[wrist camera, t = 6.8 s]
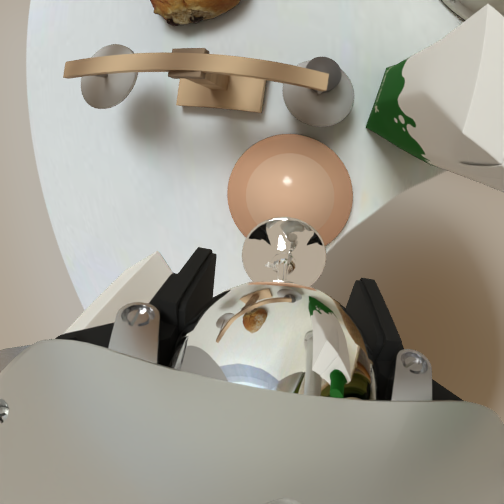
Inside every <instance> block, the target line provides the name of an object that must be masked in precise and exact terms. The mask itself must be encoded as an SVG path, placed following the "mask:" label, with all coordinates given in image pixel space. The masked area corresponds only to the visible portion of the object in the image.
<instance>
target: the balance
mask: <svg viewBox="0 0 504 504" xmlns="http://www.w3.org/2000/svg"><path fill="white" fill-rule="evenodd" d="M138 72H169V73H168V77H171V78H174V79H180V82H179V89H178V96H177V104H176V105H179V106H193V107H209V108H221V109H231V110H241V111H249V112H257V113H261V112H262V106H263V99H264V93H265V86H266V80H268V81H274V82H280V83H284V84H283V98H284V101H285V104H286V106H287V108H288V110H289V111H290V112H291V114H292V115H293V116H294V117H295V118H297V119H298V120H300V121H301V122H303V123H305V124H308V125H311V126H316V127H325V126H331V125H334V124H336V123H338V122H340V121H341V120H343V119H344V118H345V117H346V116H347V115H348V113H349V112H350V110H351V108H352V106H353V102H354V90H353V86H352V83H351V81H350V79H349V78H348V76H347V75H346V74H345V73H344V72H343V71H342V70H341V69H340V67H339V65H338V64H337V63H336V62H335V61H333V60H332V59H330V58H327V57H317V58H314V59H312V60H310V61H305V62H303V63H300V64H298V65H297V66H293V65H288V64H283V63H278V62H272V61H266V60H260V59H253V58H245V57H237V56H227V55H216V54H209V51H208V50H206V49H205V48H182V49H173V50H172V53H137V54H134V53H133V51H132V50H131V49H129V48H128V47H125V46H123V45H119V44H113V45H108V46H106V47H103V48H102V49H100V50H99V51H97V52H96V53H95V54H94V55H93V56H92V57H91V58H87V59H80V60H74V61H68V62H66V63H65V69H64V76H63V78H76V77H82V78H81V91H82V95H83V97H84V99H85V101H86V102H87V103H88V104H89V105H90V106H92V107H94V108H98V109H106V108H111V107H114V106H116V105H118V104H119V103H121V102H122V101H123V100H124V99H125V98H126V97H127V96H128V95H129V93H130V92H131V90H132V89H133V87H134V85H135V82H136V79H137V75H138Z"/></svg>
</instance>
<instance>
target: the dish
mask: <svg viewBox="0 0 504 504" xmlns="http://www.w3.org/2000/svg"><path fill="white" fill-rule="evenodd" d="M227 195H228V205H229V209H230V212H231V215H232V218H233V220H234V222H235V224H236V225H237V227H238V228H239V230H240V231H241V232H242V233H243V235H244V236H245V237H247V236H248V235H249V233H250V232H251V230H253V229H254V228H255V227H256V226H257V225H258V224H260V223H262V222H264V221H265V220H268V219H272V218H275V217H291V218H296V219H299V220H301V221H304V222H306V223H308V224H309V225H311V226H312V227H313V228H314V229H315V230H316V231H317V232H318V233H319V235H320V236H321V238H322V240H323V242H324V245H325V246H326V245H327V244H328V243H330V242H331V241H332V240H333V239H334V238H335V237H336V236H337V235H338V234H339V233H340V232H341V230H342V229H343V227H344V226H345V224H346V222H347V220H348V218H349V215H350V212H351V208H352V201H353V191H352V184H351V180H350V177H349V174H348V171H347V169H346V167H345V166H344V164H343V162H342V161H341V160H340V158H339V157H338V156H337V155H336V154H335V153H334V152H333V151H332V150H331V149H330V148H329V147H327V146H326V145H324V144H323V143H321V142H319V141H317V140H315V139H313V138H310V137H307V136H303V135H297V134H282V135H275V136H272V137H268V138H266V139H264V140H261V141H259V142H258V143H256V144H254V145H253V146H251V147H250V148H249V149H248V150H247V151H246V152H245V153H244V154H243V155H242V156H241V157H240V158H239V160H238V161H237V163H236V164H235V166H234V168H233V170H232V173H231V176H230V179H229V183H228V194H227Z"/></svg>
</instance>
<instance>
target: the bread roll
mask: <svg viewBox="0 0 504 504" xmlns="http://www.w3.org/2000/svg"><path fill="white" fill-rule="evenodd" d="M150 1H151V3H152V5H153V7H154V13H155V14H159V15H161V16H162V17H163V18H164V19H166V20H167V23H169V24H170V25H172V26H174V25H175V26H177V25H180V24H183V25H184V24H188V23H198V22H200V21H202V20H206V19H212V18H214V17H217V16H219V15H220V14H222V13H226V12H227V11H229V10H230V9H232V8H233V7H235V6H236V5H237V4H239V1H240V0H150Z"/></svg>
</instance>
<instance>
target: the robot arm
mask: <svg viewBox="0 0 504 504" xmlns="http://www.w3.org/2000/svg"><path fill="white" fill-rule="evenodd" d="M442 1H443V2H444V3H445V4H446V5H447V6H448V7H449V8H450V9H451V10H452V11H454V12H455V13H456V14H457V15H459V16H460V17H461V18H463V19H464V20H467V19H468V18H470V17H471V16H472V15H474V14H475V13H476V12H478V11H479V10H480V9H481V8H483V7H484V6H485V5H487V4H489V5H491V6H492V7H493V8H494V9H495V10H497V11H498V12H499V13H500V14H501V15H502V16H503V17H504V0H442ZM215 266H216V254H213V253H212V250H211V249H205V248H200V247H198V248H197V249H196V251H195V252H194V253H193V255H192V256H191V257H190V259H189V260H188V261H187V263H186V264H185V265H184V267H183V268H182V269H181V271H180V272H179V273H178V274H175V273H172V274H171V275H170V276H169V277H168V279H167V280H166V281H165V283H164V284H163V285H162V286H161V288H160V289H159V290H158V292H157V293H156V294H155V295H154V297H153V298H152V299H151V301H150V302H149V303H143V302H133V303H129V304H127V305H125V306H123V307H121V308H120V309H119V311H118V312H117V315H116V319H115V322H114V323H109V324H105V325H101V326H96V327H92V328H88V329H83V330H79V331H74V332H69V333H65V334H62V335H60V336H58V337H57V338H56V339H49V340H43V341H39V342H36V343H34V344H32V345H27V346H21V347H14V348H7V349H3V350H0V504H504V424H503V422H502V420H501V419H500V417H499V416H498V415H497V413H496V412H494V411H493V410H491V409H490V408H488V407H485V406H482V405H479V404H476V403H472V402H466V401H463V400H462V399H460V398H459V397H457V396H456V395H454V394H453V393H452V392H450V391H449V390H447V389H446V388H444V387H443V386H441V385H440V384H438V383H437V382H436V381H434V380H433V379H432V368H431V364H430V362H429V360H428V359H427V358H426V357H425V356H424V355H423V354H421V353H420V352H418V351H416V350H412V349H404V348H403V345H402V343H401V342H402V341H401V338H400V336H399V334H398V331H397V329H396V327H395V324H394V322H393V320H392V317H391V315H390V313H389V310H388V308H387V306H386V304H385V301H384V299H383V297H382V295H381V293H380V290H379V288H378V286H377V284H376V282H375V280H372V279H366V278H361V279H360V280H359V281H358V280H356V282H355V284H354V286H353V289H352V292H351V295H350V298H349V301H348V303H347V306H346V309H347V310H348V311H349V312H350V314H351V315H352V316H353V318H354V319H355V320H356V322H357V323H358V324H359V326H360V328H361V330H362V332H363V334H364V336H365V338H366V340H367V342H368V344H369V346H370V348H371V351H372V354H373V358H374V363H375V367H376V371H377V375H378V381H379V395H380V400H362V399H347V398H334V397H323V396H313V395H304V394H296V393H288V392H282V391H275V390H269V389H263V388H258V387H252V386H247V385H242V384H237V383H232V382H227V381H223V380H218V379H214V378H209V377H205V376H201V375H197V374H193V373H189V372H185V371H181V370H177V369H174V368H170V367H167V366H165V364H166V361H167V358H168V355H169V353H170V351H171V349H172V347H173V345H174V343H175V341H176V339H177V337H178V335H179V334H180V332H181V331H182V329H183V328H184V326H185V325H186V324H187V322H188V321H189V320H190V319H191V318H192V317H193V315H194V314H195V313H196V312H197V311H198V310H199V309H200V308H201V307H202V306H203V305H204V304H206V303H207V302H208V301H209V300H211V299H212V298H213V287H214V276H215Z"/></svg>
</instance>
